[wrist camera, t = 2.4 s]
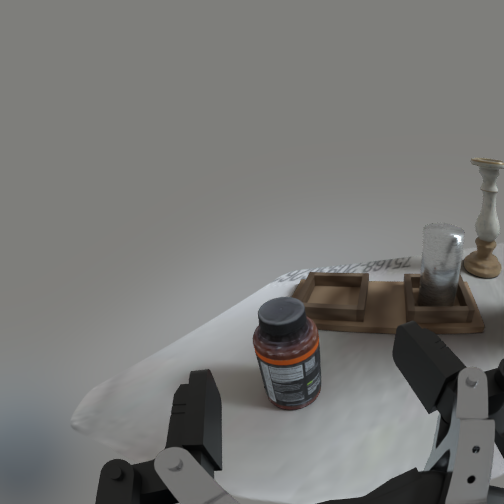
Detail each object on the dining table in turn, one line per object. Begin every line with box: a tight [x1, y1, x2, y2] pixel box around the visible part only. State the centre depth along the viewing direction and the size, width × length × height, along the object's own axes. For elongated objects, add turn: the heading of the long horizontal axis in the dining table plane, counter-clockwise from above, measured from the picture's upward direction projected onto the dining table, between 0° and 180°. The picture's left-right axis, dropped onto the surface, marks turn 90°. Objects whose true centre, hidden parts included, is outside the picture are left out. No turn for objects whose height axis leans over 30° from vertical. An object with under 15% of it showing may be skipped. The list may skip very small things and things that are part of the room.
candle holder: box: [464, 158, 504, 278], centre depth 33 cm, size 9×9×20 cm
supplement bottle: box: [253, 297, 321, 410], centre depth 24 cm, size 6×6×11 cm
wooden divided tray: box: [292, 272, 485, 334], centre depth 35 cm, size 30×12×3 cm, turn 65°
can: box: [417, 223, 464, 307], centre depth 30 cm, size 6×6×11 cm
